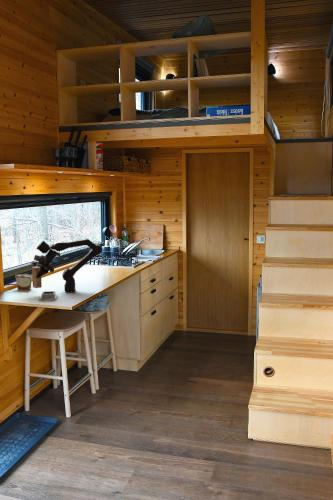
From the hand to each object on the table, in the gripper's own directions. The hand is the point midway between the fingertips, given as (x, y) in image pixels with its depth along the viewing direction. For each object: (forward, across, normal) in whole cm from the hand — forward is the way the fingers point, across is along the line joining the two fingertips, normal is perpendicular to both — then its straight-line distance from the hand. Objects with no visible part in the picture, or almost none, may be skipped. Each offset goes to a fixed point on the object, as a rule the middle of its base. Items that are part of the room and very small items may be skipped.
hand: (34, 277), depth 311 cm
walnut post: (+4, 0, +6) cm, 7 cm away
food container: (+4, -21, +13) cm, 25 cm away
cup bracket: (+7, +12, +10) cm, 17 cm away
